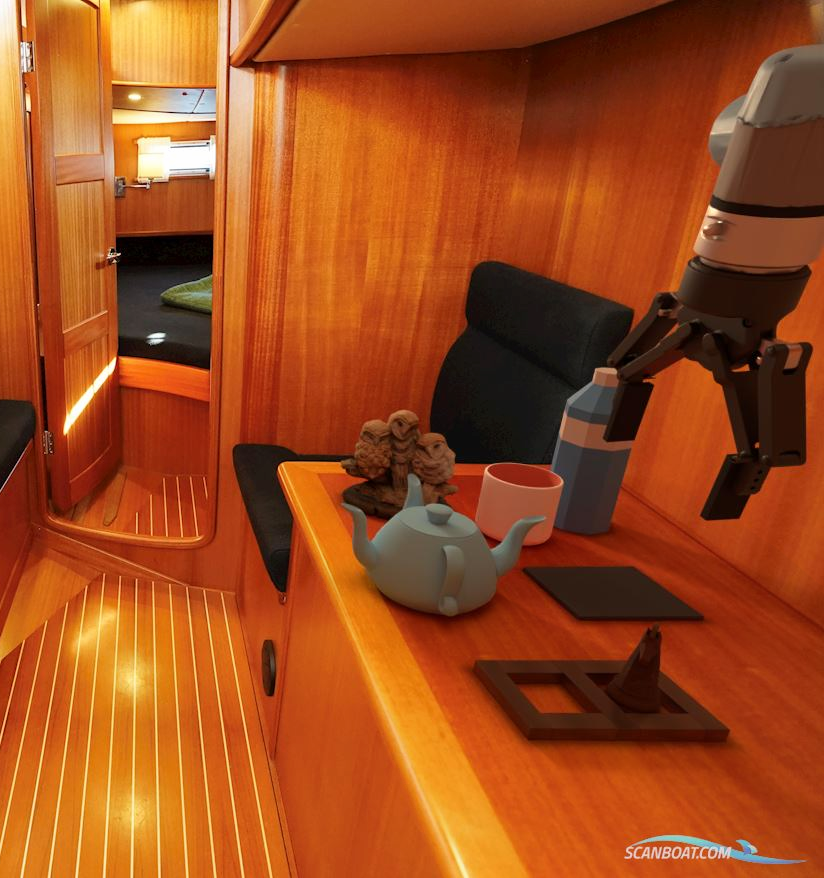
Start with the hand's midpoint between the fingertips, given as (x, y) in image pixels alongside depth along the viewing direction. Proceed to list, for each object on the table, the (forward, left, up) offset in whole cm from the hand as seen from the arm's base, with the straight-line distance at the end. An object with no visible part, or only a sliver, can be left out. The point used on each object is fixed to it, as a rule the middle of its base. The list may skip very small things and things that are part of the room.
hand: (664, 475), depth 68 cm
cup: (-10, -36, -26) cm, 45 cm away
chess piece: (-2, +2, -26) cm, 26 cm away
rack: (+3, +2, -26) cm, 26 cm away
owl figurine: (+4, -46, -26) cm, 53 cm away
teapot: (+9, -21, -26) cm, 35 cm away
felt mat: (-13, -19, -26) cm, 34 cm away
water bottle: (-22, -40, -26) cm, 52 cm away
